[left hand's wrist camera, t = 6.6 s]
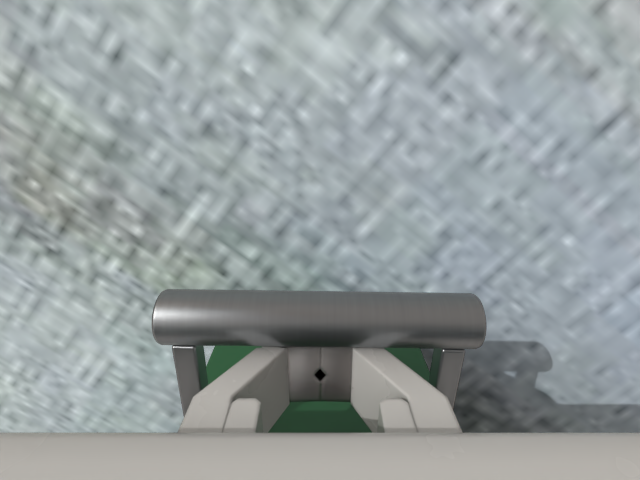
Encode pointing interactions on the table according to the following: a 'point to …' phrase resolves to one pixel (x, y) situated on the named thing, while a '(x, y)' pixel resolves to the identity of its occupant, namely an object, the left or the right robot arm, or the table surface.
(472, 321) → the drawer
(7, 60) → the table surface
